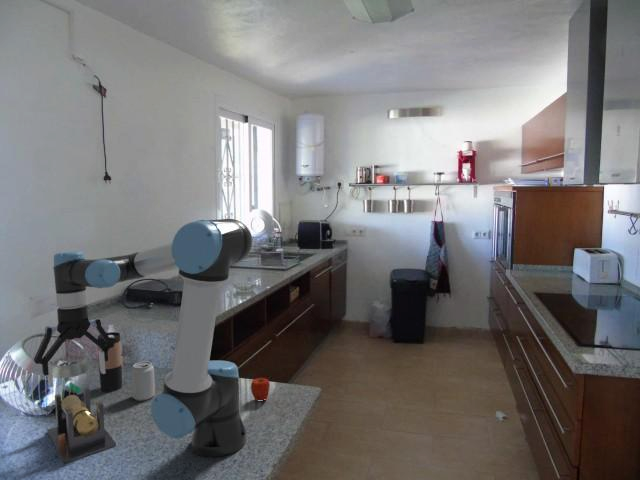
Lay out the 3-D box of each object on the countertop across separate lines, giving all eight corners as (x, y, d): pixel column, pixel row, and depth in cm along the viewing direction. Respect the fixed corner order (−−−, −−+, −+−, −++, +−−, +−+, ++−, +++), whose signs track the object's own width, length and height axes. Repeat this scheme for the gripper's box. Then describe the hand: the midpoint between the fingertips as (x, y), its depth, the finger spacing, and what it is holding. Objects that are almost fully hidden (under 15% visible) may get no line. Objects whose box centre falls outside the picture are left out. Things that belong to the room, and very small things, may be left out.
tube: (96, 435, 125) (100, 417, 125) (76, 437, 121) (80, 418, 122) (77, 411, 140) (81, 394, 140) (59, 412, 136) (63, 395, 137)
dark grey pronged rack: (116, 445, 127) (114, 405, 126) (64, 463, 119) (61, 420, 118) (94, 418, 144) (92, 382, 143) (47, 432, 135) (44, 394, 134)
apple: (248, 402, 154) (247, 381, 153) (256, 395, 159) (256, 374, 159) (265, 405, 152) (264, 383, 151) (272, 397, 157) (272, 376, 157)
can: (147, 402, 155) (145, 368, 154) (127, 401, 156) (126, 367, 155) (159, 393, 162) (157, 360, 161) (140, 391, 163) (139, 359, 162)
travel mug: (101, 385, 170) (99, 333, 168) (124, 382, 172) (121, 331, 170) (98, 393, 162) (95, 339, 161) (121, 390, 165) (118, 337, 163)
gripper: (114, 297, 139) (118, 364, 141) (17, 311, 123) (24, 387, 125) (122, 300, 134) (126, 370, 135) (22, 316, 117) (28, 395, 119)
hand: (77, 379), depth 130 cm, fingers open, 13 cm apart
